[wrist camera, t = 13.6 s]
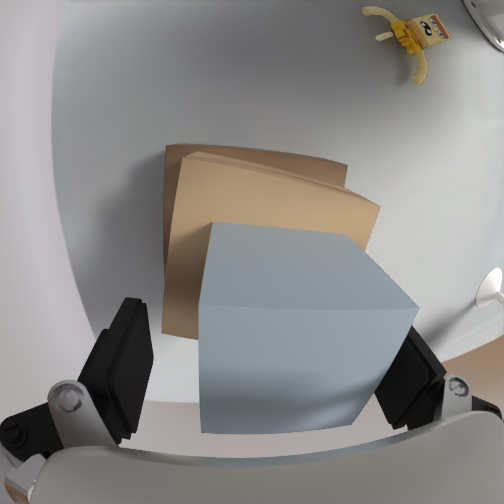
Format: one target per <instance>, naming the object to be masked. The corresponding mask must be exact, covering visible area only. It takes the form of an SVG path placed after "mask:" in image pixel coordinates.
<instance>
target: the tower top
mask: <svg viewBox="0 0 504 504" xmlns="http://www.w3.org/2000/svg"><path fill="white" fill-rule="evenodd" d="M379 209H380V206H379V205H377V204H375V203H373V202H371V201H369V200H367V199H366V198H364V197H362V196H360V195H358V194H356V193H354V192H352V191H350V190H348V189H346V188H344V187H342V186H340V185H336V184H333V183H330V182H326V181H323V180H320V179H316V178H312V177H309V176H305V175H302V174H298V173H294V172H290V171H286V170H283V169H279V168H274V167H270V166H266V165H262V164H258V163H253V162H249V161H244V160H240V159H235V158H230V157H225V156H220V155H215V154H209V153H204V152H198V151H197V152H195V153H192V154H190V155H187V156H185V157H183V158H182V164H181V169H180V174H179V180H178V186H177V192H176V198H175V204H174V211H173V218H172V225H171V232H170V240H169V248H168V257H167V266H166V276H165V287H164V300H163V314H162V332H161V333H163V334H168V335H173V336H179V337H184V338H190V339H195V340H198V327H199V299H200V293H201V287H202V281H203V275H204V269H205V263H206V257H207V251H208V246H209V240H210V235H211V229H212V224H213V222H223V223H236V224H248V225H259V226H270V227H281V228H291V229H301V230H311V231H321V232H330V233H339V234H346V235H347V236H348V237H349V238H351V239H352V240H353V241H354V242H355V243H356V244H357V245H358V246H359V247H360V248H361V249H362V250H363V251H365V249H366V246H367V243H368V241H369V238H370V235H371V232H372V230H373V227H374V224H375V221H376V218H377V215H378V212H379Z"/></svg>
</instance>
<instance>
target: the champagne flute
mask: <svg viewBox="0 0 504 504" xmlns="http://www.w3.org/2000/svg"><path fill="white" fill-rule="evenodd" d="M501 279H502V272H501V270H500V269H499V268H495V269H493V270H492V271H491V272H490V273H489V274H488V275H487V276H486V277H485V279H484V280H483V282H482V284H481V286H480V288H479V290H478V293H477V296H476V305H477V307H480V308H481V307H484V306H486V305H487V304H488V303H490V302H491V301H493V300H494V299H495V298H496V299H497V300H498V301H499V302H500V303H501V304H502V305H504V295H503V294H502V293H501V292H500V286H501Z"/></svg>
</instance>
